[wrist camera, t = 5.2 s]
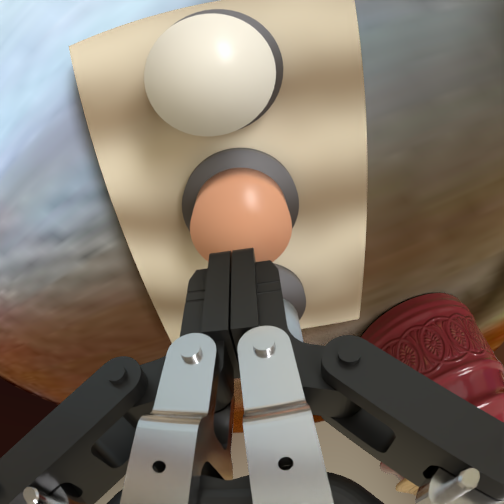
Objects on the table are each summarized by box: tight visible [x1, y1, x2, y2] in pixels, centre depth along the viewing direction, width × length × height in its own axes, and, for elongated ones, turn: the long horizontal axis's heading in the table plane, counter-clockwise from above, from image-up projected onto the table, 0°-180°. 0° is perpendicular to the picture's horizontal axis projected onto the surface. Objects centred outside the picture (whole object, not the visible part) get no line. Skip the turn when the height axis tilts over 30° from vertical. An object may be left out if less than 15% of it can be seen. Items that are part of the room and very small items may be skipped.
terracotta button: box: [190, 168, 292, 262], centre depth 15 cm, size 5×5×2 cm
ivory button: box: [144, 13, 276, 136], centre depth 11 cm, size 5×5×2 cm
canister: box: [361, 293, 504, 496], centre depth 21 cm, size 13×13×18 cm
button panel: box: [69, 0, 367, 343], centre depth 18 cm, size 21×14×3 cm, turn 8°
